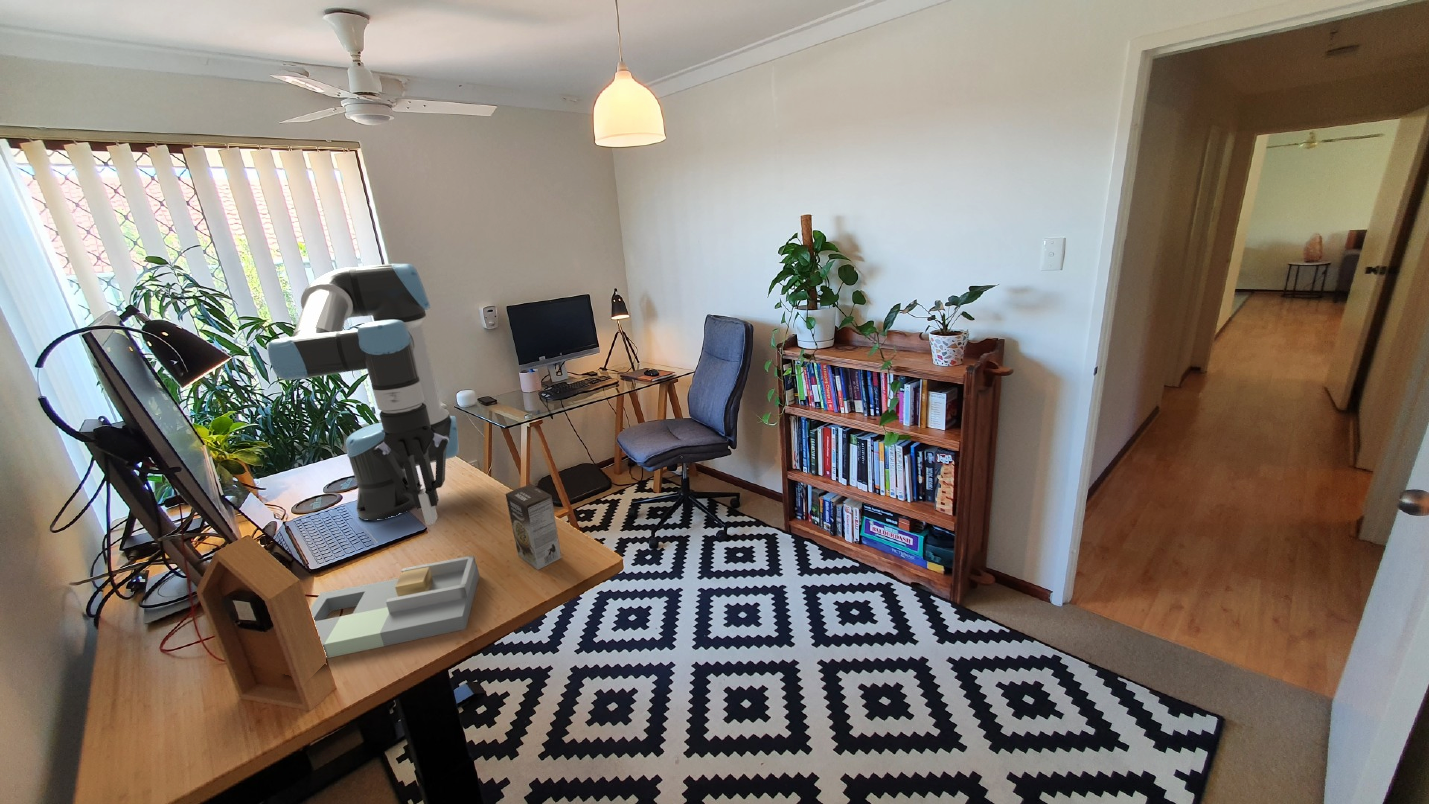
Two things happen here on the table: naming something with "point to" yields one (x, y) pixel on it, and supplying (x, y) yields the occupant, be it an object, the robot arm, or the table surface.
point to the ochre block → (414, 582)
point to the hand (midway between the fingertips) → (431, 520)
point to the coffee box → (534, 525)
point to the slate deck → (397, 609)
